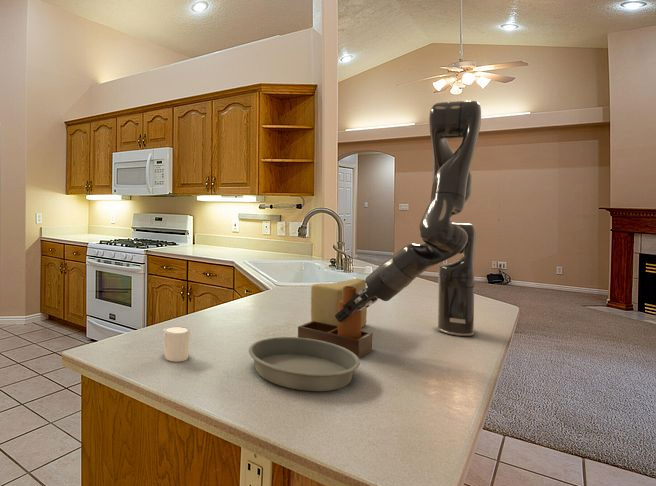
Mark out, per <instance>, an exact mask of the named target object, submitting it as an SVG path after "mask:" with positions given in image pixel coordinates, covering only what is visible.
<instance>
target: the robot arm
mask: <svg viewBox="0 0 656 486" xmlns="http://www.w3.org/2000/svg"><path fill="white" fill-rule="evenodd" d="M428 118H429V119H428V120H429V122H428V124H429V134H430V142H431V143H430V144H431V150H432V186H431V193H430V202H429V203H428V205H427V207H426V210H425V211H424V214H423V216H422V217H421V219H420V222H419V227H418V233H419V236H420V239H421V240H422V241H423V242H424V243H421V244H417V243H407V244H406V245H404V246H403V247H402V248H401V249H400V250H398V251H397V252H396V253H395V254H394V255H392V256H391V257H389V258H388V259H387V260H385V261H384V262H383V263H381V264H380V265H378V267H377V268H376V269H375V270H373V271H372V272H371V273H370V274H369V275H367V276H366V277H365V278H364V280H365V282H366V289H362V290H361V291H359V293H358V294H356V295H355V296H354V297H353V298H352V299H351V300H349V301H348V302H347V303H346V304H345V305H343V309H342V310H341V311H340V312H338V313H337V314H336V315H335V317H336V319H337V320H338V321H339V322H342V321H344V320H345V319H346V318H347V317H348V316H350V315H352V314H353V313H354V312H355V311H357V310H359V311H360V310H364V308H365V307H366V308H367V309H368V308H369V307H370V306H372V305H373V304H375V303H377V302H378V301H379V300H380V301H382V302H389V301H390V300H391V299H393V298H394V297H396V296H397V295H398V294H399V293H400V292H402V291H403V290H404V289H405V288H407V287H408V286H409V285H410V284H411V283H412V282H413V281H414V280H415V279H416V278H417V277H419V276H421V274H422V273H424V272H425V271H426V270H428V269H429V268H431V267H433V266H435V265H438V264H441V263H443V262H445V261H446V260H449V259H451V258H453V257H455V256H456V255H459V254H460V255H461V257H460V258H459V259H456V260H454V261H451V262H448V263H443V264H441V265H439V266H438V293H437V294H438V297H437V298H438V299H437V300H438V301H437V302H438V303H437V304H438V307H437V310H438V312H437V318H438V319H437V331H439V332H440V333H443V334H447V335H451V336H458V337H472V336H474V335H475V331H474V328H475V327H474V325H475V324H474V323H475V253H476V239H477V236H476V235H477V233H476V229H475V228H476V227H475V226H474V225H473V224H472V223H461V222H460V223H457V222H453V221H452V220H451V218H452V217H453V216H455V215H458V214H460V213H461V212H462V211H463V210H464V208H465V204H466V203H467V202H468V200H469V199H470V197H471V195H472V173H471V170H470V169H471V165H472V163H473V159H474V155H475V151H476V147H477V143H478V138H479V135H480V130H481V124H482V107H481V105H480V103H479V102H478V101H476V100H456V101H442V102H436V103H434V104H433V105H432V106H431V108H430V110H429V117H428ZM448 139H461V142H460V144H459V146H458V147H457V149H456V150H455V151H454V150H453V149H452V147H451V145H450V144H449V142H448ZM350 305H351V307H352V308H353V309H351V308H350V307H349V306H350ZM359 306H361V307H359Z"/></svg>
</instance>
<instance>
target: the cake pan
mask: <svg viewBox="0 0 656 486" xmlns="http://www.w3.org/2000/svg"><path fill="white" fill-rule="evenodd" d="M248 353H249V355H250V357H251V358H252V359H253V363H254V368H255V371H256V373H257V374H258V375H259V376H260V377H261V378H263V379H264V380H266V381H268V382H269V383H272V384H275V385H277V386H281V387H284V388H287V389H293V390H296V391H297V390H299V391H306V392H328V391H336V390H339V389H342V388H345V387H346V386H348V385H349V384H350V383H351V381H352V378H353V375H354V371H356V370H357V369H358V368H359V367H360V365H361V360H360V358H358V357H357V356H356V355H355V354H354V353H353V352H351V351H350V350H348V349H346V348H344V347H341V346H338V345H336V344H332V343H329V342H325V341H320V340H315V339H308V338H298V336H296V337H295V336H279V337H270V338H264V339H260V340H258V341H255V342H253V343H252V344H251V345H250V346H249V348H248Z"/></svg>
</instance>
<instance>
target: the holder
mask: <svg viewBox="0 0 656 486" xmlns="http://www.w3.org/2000/svg"><path fill="white" fill-rule="evenodd" d="M297 337H298V338H308V339H315V340H320V341H325V342H329V343H332V344H336V345H338V346H341V347H344V348H346V349H348V350H350V351H351V352H353V353H354V354H355V355H356V356H357V357H358V358H359V359H361V358H362V357H364V356H366V355H367V354H369V353H370V352H372V351H373V332H369V331H364V330H361V337H360V338H358V339H355V338H350V337H346V336H341V335H338V326H336V325H331V324H327V323H322V322H317V321H309V322H306V323H303V324H301V325H299V326H297Z"/></svg>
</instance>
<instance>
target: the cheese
mask: <svg viewBox="0 0 656 486" xmlns="http://www.w3.org/2000/svg"><path fill="white" fill-rule="evenodd" d="M344 286H353V287H356V294H358V293H359V291H361V290H362V289H366V288H367V285H366V282H365V278H352V279H348V280H343V281H339V282H331V283H314V284H312V285H311V288H310V291H311V292H310V320H311V321H317V322H322V323H327V324H331V325H336V326H338V320H337V319H336V317H335V315H336V314H337V313H338V301H339V300H343V287H344ZM367 309H368V307H367V308H366V307H365V308H364V310H361V328H364V327H365V326H366V325H367V315H368V314H367V312H368V310H367ZM311 321H310V322H311Z"/></svg>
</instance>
